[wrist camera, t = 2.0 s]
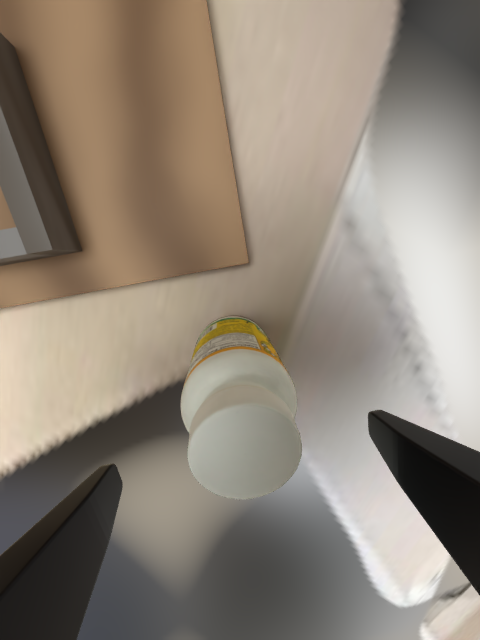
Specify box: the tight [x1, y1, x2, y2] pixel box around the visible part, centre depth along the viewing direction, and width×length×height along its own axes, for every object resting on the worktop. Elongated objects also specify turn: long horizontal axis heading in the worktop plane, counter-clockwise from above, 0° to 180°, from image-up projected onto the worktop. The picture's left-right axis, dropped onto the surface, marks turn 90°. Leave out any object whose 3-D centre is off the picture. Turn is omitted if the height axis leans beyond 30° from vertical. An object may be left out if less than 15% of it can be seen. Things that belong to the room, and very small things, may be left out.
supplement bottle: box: [181, 316, 302, 499], centre depth 13 cm, size 5×5×10 cm
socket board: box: [0, 0, 249, 308], centre depth 12 cm, size 20×14×4 cm
